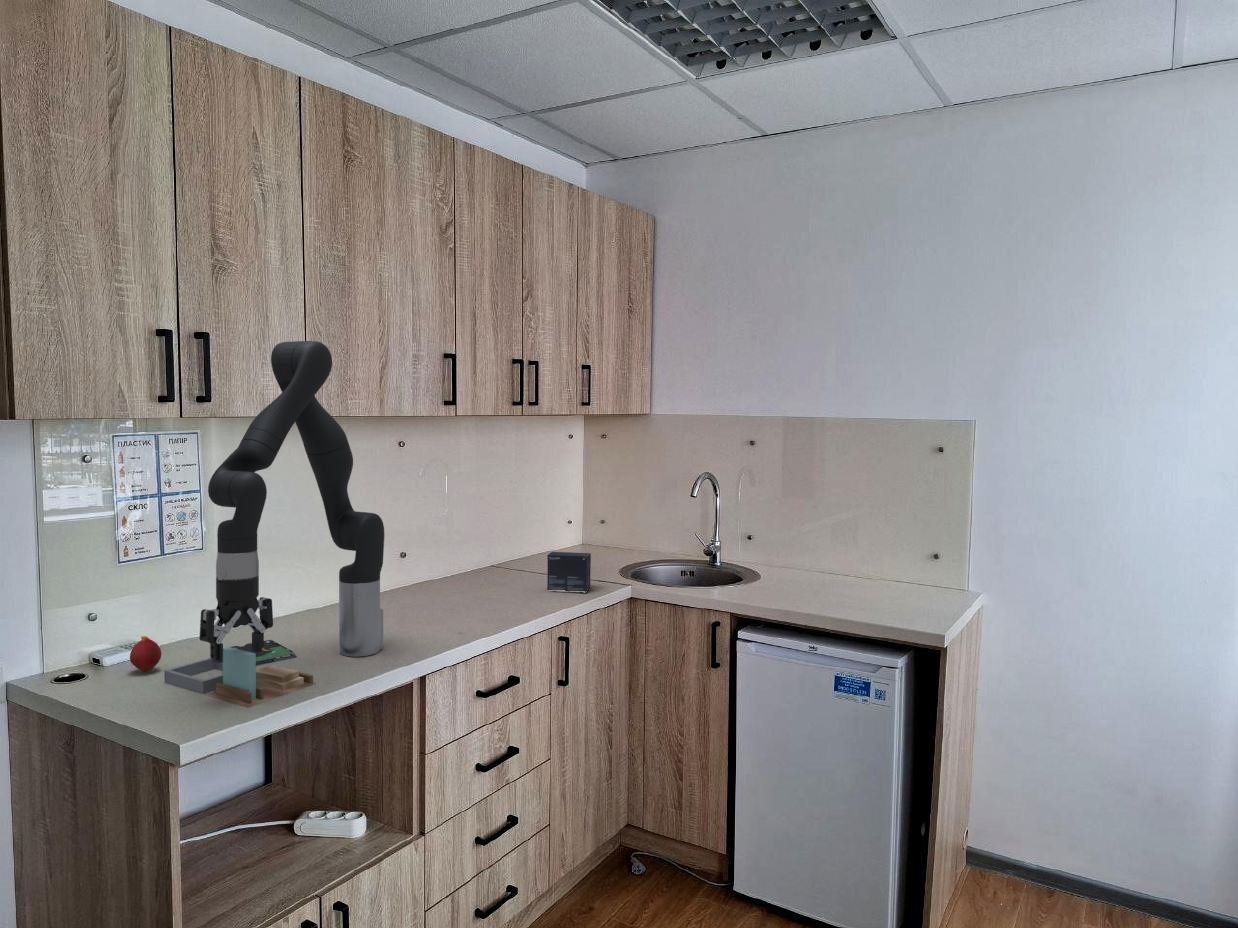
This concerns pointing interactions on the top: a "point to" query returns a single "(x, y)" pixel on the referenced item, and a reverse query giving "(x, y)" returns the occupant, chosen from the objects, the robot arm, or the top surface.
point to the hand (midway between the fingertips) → (237, 656)
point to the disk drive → (269, 652)
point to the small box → (568, 571)
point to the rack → (262, 692)
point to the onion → (145, 654)
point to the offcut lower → (281, 686)
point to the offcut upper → (276, 674)
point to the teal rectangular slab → (239, 670)
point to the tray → (185, 678)
